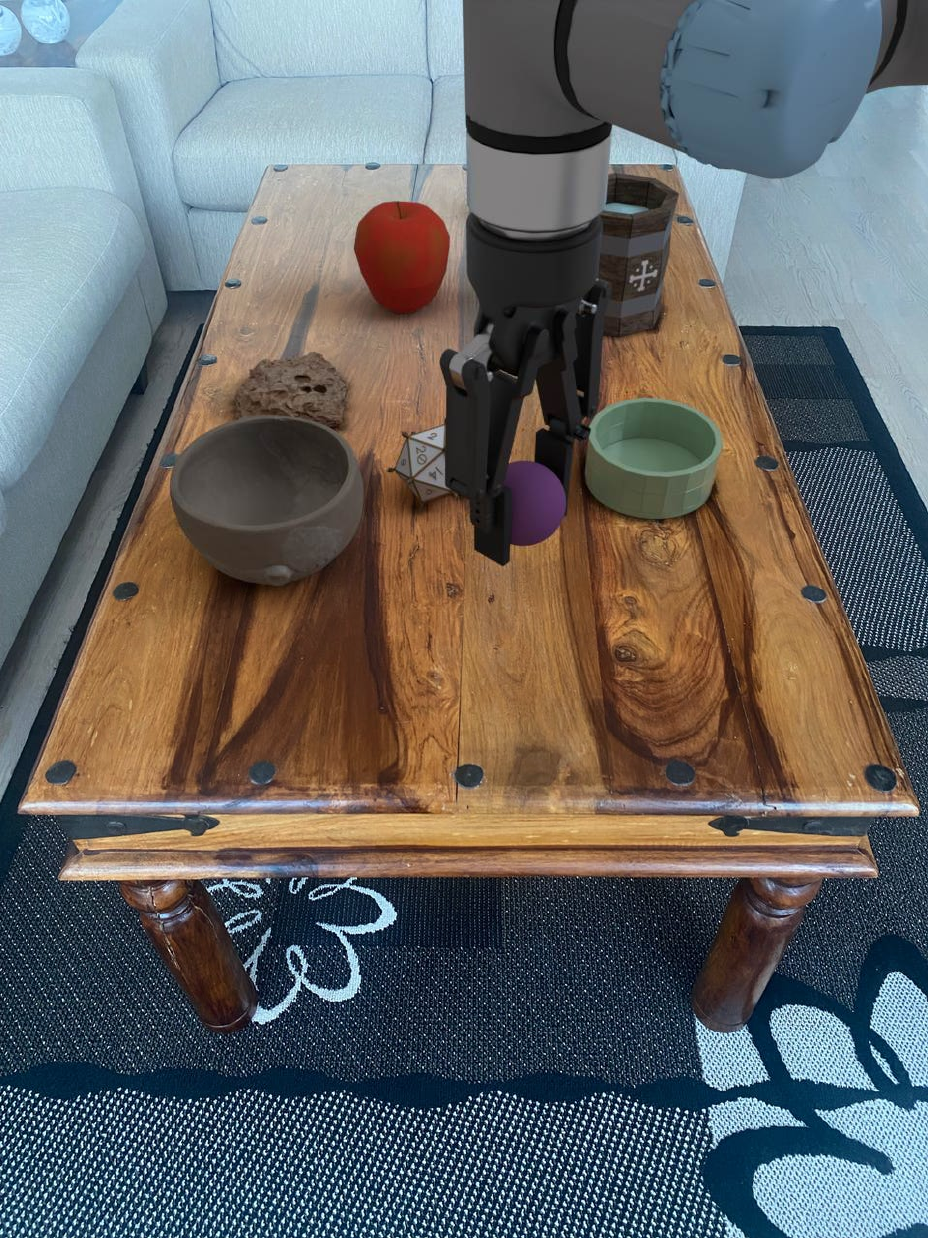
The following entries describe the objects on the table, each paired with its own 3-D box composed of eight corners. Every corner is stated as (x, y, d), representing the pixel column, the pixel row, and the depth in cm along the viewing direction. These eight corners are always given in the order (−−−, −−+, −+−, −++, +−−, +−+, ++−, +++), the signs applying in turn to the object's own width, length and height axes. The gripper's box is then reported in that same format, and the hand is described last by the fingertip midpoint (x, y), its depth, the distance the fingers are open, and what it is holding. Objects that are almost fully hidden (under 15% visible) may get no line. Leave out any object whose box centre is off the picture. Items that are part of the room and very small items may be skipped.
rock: (344, 433, 104) (340, 405, 101) (227, 433, 104) (220, 405, 101) (357, 362, 114) (354, 334, 111) (250, 363, 114) (244, 335, 111)
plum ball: (579, 532, 67) (586, 466, 63) (528, 575, 64) (531, 509, 60) (516, 498, 70) (518, 432, 66) (463, 538, 67) (462, 472, 63)
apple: (378, 338, 118) (368, 229, 107) (347, 297, 125) (335, 191, 115) (466, 317, 121) (464, 209, 111) (431, 278, 129) (426, 174, 118)
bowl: (325, 627, 83) (311, 545, 76) (154, 585, 87) (125, 503, 80) (395, 510, 94) (388, 428, 87) (240, 477, 98) (221, 396, 91)
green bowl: (736, 474, 98) (747, 431, 94) (665, 537, 91) (674, 494, 87) (632, 425, 104) (638, 383, 100) (558, 481, 97) (562, 438, 93)
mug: (652, 284, 127) (668, 171, 116) (671, 335, 117) (691, 217, 106) (509, 288, 126) (512, 175, 115) (517, 340, 117) (521, 222, 106)
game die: (451, 528, 98) (479, 502, 88) (374, 506, 96) (394, 477, 86) (467, 451, 100) (496, 417, 90) (392, 428, 98) (414, 391, 88)
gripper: (582, 144, 57) (559, 452, 73) (361, 251, 47) (393, 576, 64) (687, 175, 53) (638, 490, 70) (471, 298, 44) (474, 628, 60)
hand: (521, 531), depth 67 cm, fingers closed on plum ball, 6 cm apart
